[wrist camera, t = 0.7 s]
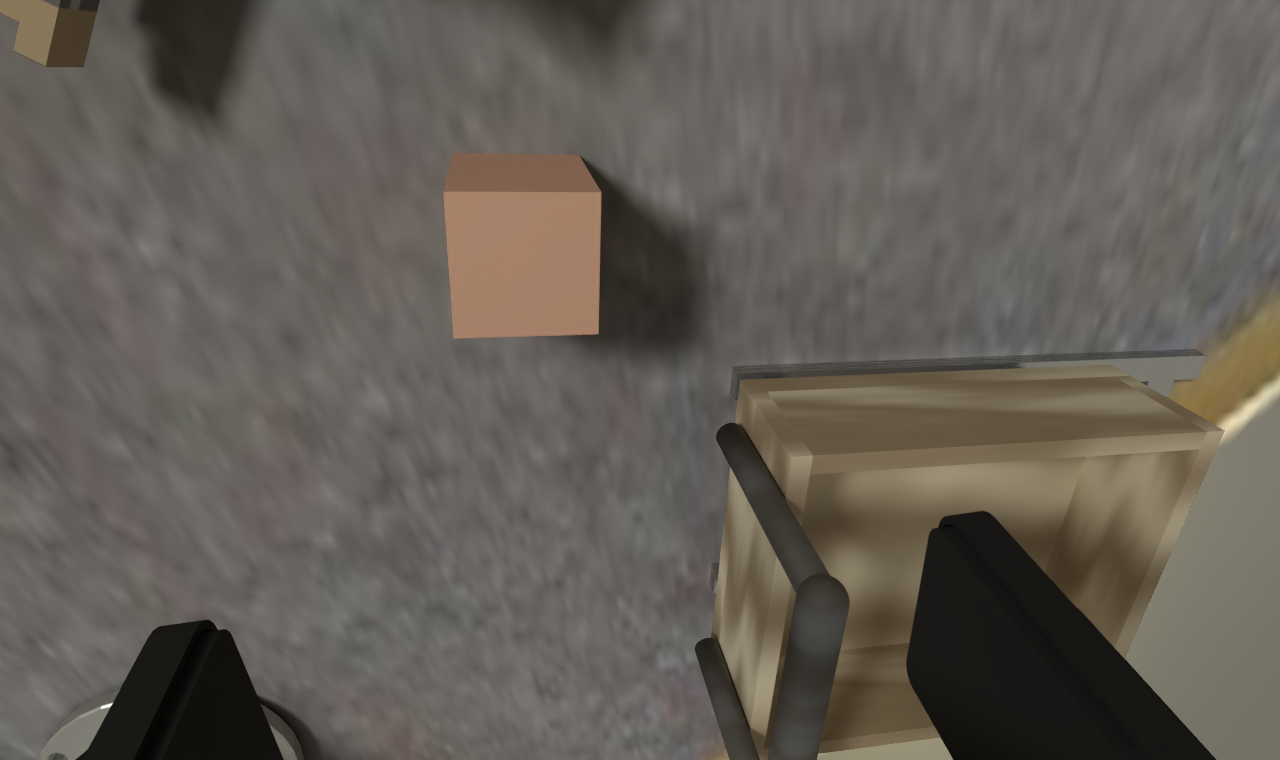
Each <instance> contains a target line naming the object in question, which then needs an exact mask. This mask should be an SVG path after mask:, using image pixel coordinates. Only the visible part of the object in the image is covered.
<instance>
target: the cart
mask: <svg viewBox="0 0 1280 760" xmlns="http://www.w3.org/2000/svg"><path fill="white" fill-rule="evenodd" d="M1223 433H1224V430H1222V429H1221V428H1219V427H1217V426H1216V425H1214V424H1212V423H1210V422H1209V421H1207V420H1205V419H1203V418H1202V417H1200V416H1198V415H1197V414H1195V413H1193V412H1191V411H1190V410H1188V409H1186V408H1184V407H1183V406H1181V405H1179V404H1178V403H1176V402H1174V401H1172V400H1171V399H1169V398H1167V397H1165V396H1164V395H1162V394H1160V393H1159V392H1157V391H1155V390H1153V389H1152V388H1150V387H1148V386H1146V385H1145V384H1143V383H1141V382H1140V381H1138V380H1136V379H1134V378H1133V377H1131V376H1129V375H1127V374H1126V373H1124V372H1122V371H1121V370H1119V369H1117V368H1115V367H1114V366H1112V365H1090V366H1066V367H1041V368H1022V367H1016V368H1009V369H991V370H967V371H942V372H917V373H893V374H868V375H843V376H819V377H794V378H778V377H768V378H761V379H745V380H740V386H739V395H738V404H737V413H736V422H735V423H728V424H725V425H724V426H722V427H721V428H720V429H719V430H718V432H717V435H716V440H717V442H718V444H719V446H720V448H721V450H722V452H723V454H724V456H725V458H726V459H727V461H728V463H729V465H730V475H729V484H728V493H727V502H726V510H725V519H724V528H723V537H722V546H721V555H720V564H719V573H718V582H717V590H716V599H715V608H714V617H713V626H712V635H711V638H705V639H702V640H701V641H699V642H698V643H697V644H696V646H695V652H696V655H697V658H698V661H699V665H700V668H701V671H702V674H703V677H704V680H705V684H706V687H707V690H708V693H709V696H710V699H711V702H712V706H713V709H714V712H715V715H716V718H717V721H718V724H719V728H720V731H721V734H722V737H723V740H724V743H725V747H726V750H727V753H728V756H729V759H730V760H817V756H818V754H819V753H827V752H834V751H842V750H849V749H857V748H863V747H871V746H879V745H886V744H894V743H901V742H909V741H916V740H924V739H931V738H938V737H940V735H939V733H938V732H937V730H936V728H935V727H934V725H933V723H932V721H931V720H930V718H929V716H928V714H927V713H926V711H925V709H924V707H923V706H922V704H921V702H920V700H919V699H918V697H917V695H916V693H915V692H914V690H913V688H912V686H911V684H910V681H909V678H908V674H907V668H906V660H907V654H908V648H909V643H910V637H911V632H912V626H913V620H914V615H915V609H916V604H917V598H918V593H919V587H920V581H921V576H922V570H923V565H924V559H925V554H926V548H927V542H928V537H929V533H930V531H931V530H932V529H934V528H938V526H939V523H940V520H941V519H942V518H943V517H945V516H949V515H956V514H963V513H970V512H977V511H986V512H989V513H990V514H991V515H993V516H994V517H995V518H996V519H997V520H998V521H999V523H1000V524H1001V525H1002V526H1003V527H1004V528H1005V529H1006V530H1007V531H1008V532H1009V534H1010V535H1011V536H1012V537H1013V538H1014V539H1015V540H1016V541H1017V542H1018V543H1019V545H1020V546H1021V547H1022V548H1023V549H1024V550H1025V551H1026V552H1027V553H1028V555H1029V556H1030V557H1031V558H1032V559H1033V560H1034V561H1035V562H1036V563H1037V564H1038V566H1039V567H1040V568H1041V569H1042V570H1043V571H1044V572H1045V573H1046V574H1047V575H1048V577H1049V578H1050V579H1051V580H1052V581H1053V582H1054V583H1055V584H1056V585H1057V586H1058V588H1059V589H1060V590H1061V591H1062V592H1063V593H1064V594H1065V595H1066V596H1067V598H1068V599H1069V600H1070V601H1071V602H1072V603H1073V604H1074V605H1075V606H1076V607H1077V608H1078V609H1079V610H1080V611H1082V613H1083V614H1084V615H1085V616H1086V617H1087V618H1088V619H1089V620H1090V621H1091V622H1092V624H1093V625H1094V626H1095V627H1096V628H1097V629H1098V630H1099V631H1100V632H1101V633H1102V635H1103V636H1104V637H1105V638H1106V639H1107V640H1108V641H1109V642H1110V643H1111V644H1112V646H1113V647H1114V648H1115V649H1116V650H1117V651H1118V652H1119V653H1120V654H1121V655H1122V657H1123V658H1125V656H1126V654H1127V651H1128V649H1129V647H1130V644H1131V642H1132V640H1133V638H1134V635H1135V633H1136V631H1137V629H1138V626H1139V624H1140V622H1141V619H1142V617H1143V615H1144V613H1145V610H1146V608H1147V606H1148V603H1149V601H1150V599H1151V597H1152V595H1153V592H1154V590H1155V588H1156V585H1157V583H1158V581H1159V579H1160V576H1161V574H1162V572H1163V570H1164V567H1165V565H1166V563H1167V561H1168V558H1169V556H1170V554H1171V551H1172V549H1173V547H1174V545H1175V542H1176V540H1177V538H1178V535H1179V533H1180V531H1181V529H1182V527H1183V524H1184V522H1185V520H1186V517H1187V515H1188V513H1189V511H1190V508H1191V506H1192V504H1193V502H1194V499H1195V497H1196V495H1197V492H1198V490H1199V488H1200V486H1201V483H1202V481H1203V479H1204V476H1205V474H1206V472H1207V470H1208V467H1209V465H1210V463H1211V460H1212V458H1213V456H1214V454H1215V451H1216V449H1217V447H1218V445H1219V443H1220V440H1221V438H1222V436H1223Z"/></svg>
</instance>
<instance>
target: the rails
mask: <svg viewBox="0 0 1280 760" xmlns="http://www.w3.org/2000/svg"><path fill="white" fill-rule="evenodd" d="M1206 356H1207V355H1205V354H1203V353H1201V352H1198V351H1196V350H1168V351H1142V352H1115V353H1088V354H1061V355H1034V356H1007V357H981V358H954V359H927V360H900V361H873V362H847V363H820V364H793V365H766V366H739V367H733V373H732V382H731V391H730V393H731V394H732V396H733V398H734V399H735V400H738V395H739V386H740V380H745V379H761V378H768V377H778V378H794V377H819V376H843V375H868V374H893V373H917V372H942V371H967V370H991V369H1009V368H1016V367H1022V368H1041V367H1066V366H1090V365H1112V366H1114V367H1115V368H1117V369H1119V370H1121V371H1122V372H1124V373H1126V374H1127V375H1129V376H1131V377H1133V378H1134V379H1136V380H1138V381H1140V382H1141V383H1143V384H1145V385H1146V386H1148V387H1150V388H1152V389H1153V390H1155V391H1157V392H1159V393H1160V394H1162V395H1164V396H1165V397H1167V398H1168V395H1169V393H1170V390H1171V388H1172V385H1173V383H1174V380H1190V379H1197V378H1198V376H1199V373H1200V371H1201V369H1202V366H1203V364H1204V361H1205V359H1206ZM719 564H720V563H717V564H712V569H711V578H710V585H711V588H712V591H713V593H716V590H717V582H718V573H719Z"/></svg>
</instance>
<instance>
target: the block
mask: <svg viewBox="0 0 1280 760" xmlns="http://www.w3.org/2000/svg"><path fill="white" fill-rule="evenodd" d="M443 193H444V207H445V221H446V236H447V250H448V264H449V278H450V292H451V306H452V320H453V334H454V338H485V337H520V336H555V335H590V334H599V285H600V235H601V191H600V189H599V188H598V186H597V184H596V183H595V181H594V179H593V177H592V176H591V174H590V172H589V171H588V169H587V167H586V166H585V164H584V162H583V161H582V159H581V157H580V156H579V155H543V154H469V153H453V155H452V159H451V163H450V167H449V171H448V175H447V179H446V183H445V187H444V191H443Z"/></svg>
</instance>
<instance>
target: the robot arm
mask: <svg viewBox="0 0 1280 760" xmlns="http://www.w3.org/2000/svg"><path fill="white" fill-rule="evenodd" d="M906 668H907V674H908V678H909V681H910V684H911V686H912V688H913V690H914V692H915V693H916V695H917V697H918V699H919V700H920V702H921V704H922V706H923V707H924V709H925V711H926V713H927V714H928V716H929V718H930V720H931V721H932V723H933V725H934V727H935V728H936V730H937V732H938V733H939V735H940V737H941V739H942V740H943V742H944V744H945V746H946V747H947V749H948V751H949V753H950V754H951V756H952V758H953V760H1216V759H1215V758H1214V757H1213V756H1212V755H1211V753H1210V752H1209V751H1208V750H1207V749H1206V748H1205V747H1204V746H1203V745H1202V743H1200V741H1199V740H1198V739H1197V738H1196V737H1195V736H1194V735H1193V734H1192V732H1191V731H1190V730H1189V729H1188V728H1187V727H1186V726H1185V725H1184V724H1183V723H1182V721H1180V719H1179V718H1178V717H1177V716H1176V715H1175V714H1174V713H1173V712H1172V710H1171V709H1170V708H1169V707H1168V706H1167V705H1166V704H1165V703H1164V702H1163V701H1162V699H1161V698H1160V697H1159V696H1158V695H1157V694H1156V693H1155V692H1154V691H1153V690H1152V688H1151V687H1150V686H1149V685H1148V684H1147V683H1146V682H1145V681H1144V680H1143V679H1142V677H1141V676H1140V675H1139V674H1138V673H1137V672H1136V671H1135V670H1134V669H1133V668H1132V666H1131V665H1130V664H1129V663H1128V662H1127V661H1126V660H1125V659H1124V658H1123V657H1122V655H1121V654H1120V653H1119V652H1118V651H1117V650H1116V649H1115V648H1114V647H1113V646H1112V644H1111V643H1110V642H1109V641H1108V640H1107V639H1106V638H1105V637H1104V636H1103V635H1102V633H1101V632H1100V631H1099V630H1098V629H1097V628H1096V627H1095V626H1094V625H1093V624H1092V622H1091V621H1090V620H1089V619H1088V618H1087V617H1086V616H1085V615H1084V614H1083V613H1082V611H1080V610H1079V609H1078V608H1077V607H1076V606H1075V605H1074V604H1073V603H1072V602H1071V601H1070V600H1069V599H1068V598H1067V596H1066V595H1065V594H1064V593H1063V592H1062V591H1061V590H1060V589H1059V588H1058V586H1057V585H1056V584H1055V583H1054V582H1053V581H1052V580H1051V579H1050V578H1049V577H1048V575H1047V574H1046V573H1045V572H1044V571H1043V570H1042V569H1041V568H1040V567H1039V566H1038V564H1037V563H1036V562H1035V561H1034V560H1033V559H1032V558H1031V557H1030V556H1029V555H1028V553H1027V552H1026V551H1025V550H1024V549H1023V548H1022V547H1021V546H1020V545H1019V543H1018V542H1017V541H1016V540H1015V539H1014V538H1013V537H1012V536H1011V535H1010V534H1009V532H1008V531H1007V530H1006V529H1005V528H1004V527H1003V526H1002V525H1001V524H1000V523H999V521H998V520H997V519H996V518H995V517H994V516H993V515H991V514H990V513H989V512H986V511H977V512H970V513H963V514H956V515H949V516H945V517H943V518H942V519H941V520H940V523H939V526H938V528H934V529H932V530H931V531H930V533H929V537H928V542H927V548H926V554H925V559H924V565H923V570H922V576H921V581H920V587H919V593H918V598H917V604H916V609H915V615H914V620H913V626H912V632H911V637H910V643H909V648H908V654H907V660H906ZM39 760H304V757H303V753H302V749H301V745H300V743H299V741H298V739H297V738H296V736H295V734H294V732H293V731H292V730H291V728H290V727H289V726H288V725H287V724H286V723H285V722H284V721H283V720H282V719H281V718H280V717H279V716H278V715H276V714H275V713H274V712H272V711H271V710H269V709H268V708H267V707H265V706H264V705H262V704H260V701H259V699H258V697H257V694H256V692H255V690H254V687H253V685H252V682H251V680H250V678H249V675H248V673H247V670H246V668H245V666H244V663H243V661H242V658H241V656H240V654H239V651H238V649H237V647H236V644H235V642H234V639H233V637H232V635H231V633H230V632H229V631H228V630H226V629H223V630H218V629H217V628H216V626H215V624H214V623H213V622H211V621H210V620H202V621H195V622H188V623H181V624H174V625H167V626H160V627H158V628H156V629H155V630H153V632H152V633H151V634H150V636H149V637H148V639H147V641H146V643H145V645H144V646H143V648H142V650H141V652H140V654H139V656H138V657H137V659H136V661H135V663H134V665H133V667H132V669H131V670H130V672H129V674H128V676H127V678H126V680H125V681H124V683H123V685H122V687H121V689H120V690H117V691H114V692H111V693H109V694H106V695H103V696H100V697H97V698H95V699H94V700H92V701H90V702H88V703H86V704H85V705H83V706H81V707H79V708H77V709H76V710H75V711H74V712H73V713H71V714H70V715H69V716H68V717H67V718H65V719H64V720H63V721H62V722H61V723H60V725H59V726H58V727H57V729H56V730H55V731H54V733H53V734H52V736H51V737H50V739H49V741H48V742H47V744H46V746H45V747H44V749H43V751H42V753H41V755H40V757H39Z"/></svg>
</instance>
